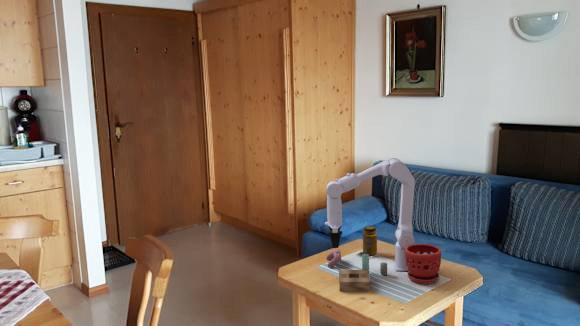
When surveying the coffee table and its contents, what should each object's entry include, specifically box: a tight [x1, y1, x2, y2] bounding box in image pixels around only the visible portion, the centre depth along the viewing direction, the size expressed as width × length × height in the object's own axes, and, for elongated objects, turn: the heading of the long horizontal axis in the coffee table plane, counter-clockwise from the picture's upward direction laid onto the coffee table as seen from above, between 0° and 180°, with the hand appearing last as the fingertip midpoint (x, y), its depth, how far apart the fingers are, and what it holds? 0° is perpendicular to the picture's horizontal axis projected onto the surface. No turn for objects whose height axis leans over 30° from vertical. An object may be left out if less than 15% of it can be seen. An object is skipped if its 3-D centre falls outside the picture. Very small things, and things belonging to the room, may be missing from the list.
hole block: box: [338, 269, 371, 292], centre depth 179 cm, size 11×11×4 cm
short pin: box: [379, 262, 388, 277], centre depth 187 cm, size 3×3×4 cm
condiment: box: [355, 225, 381, 260], centre depth 209 cm, size 7×8×12 cm
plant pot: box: [405, 243, 442, 284], centre depth 182 cm, size 13×13×12 cm
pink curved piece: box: [325, 248, 343, 268], centre depth 200 cm, size 10×5×7 cm, turn 179°
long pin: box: [361, 254, 370, 274], centre depth 188 cm, size 3×3×8 cm
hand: (335, 244), depth 194 cm, fingers open, 7 cm apart
